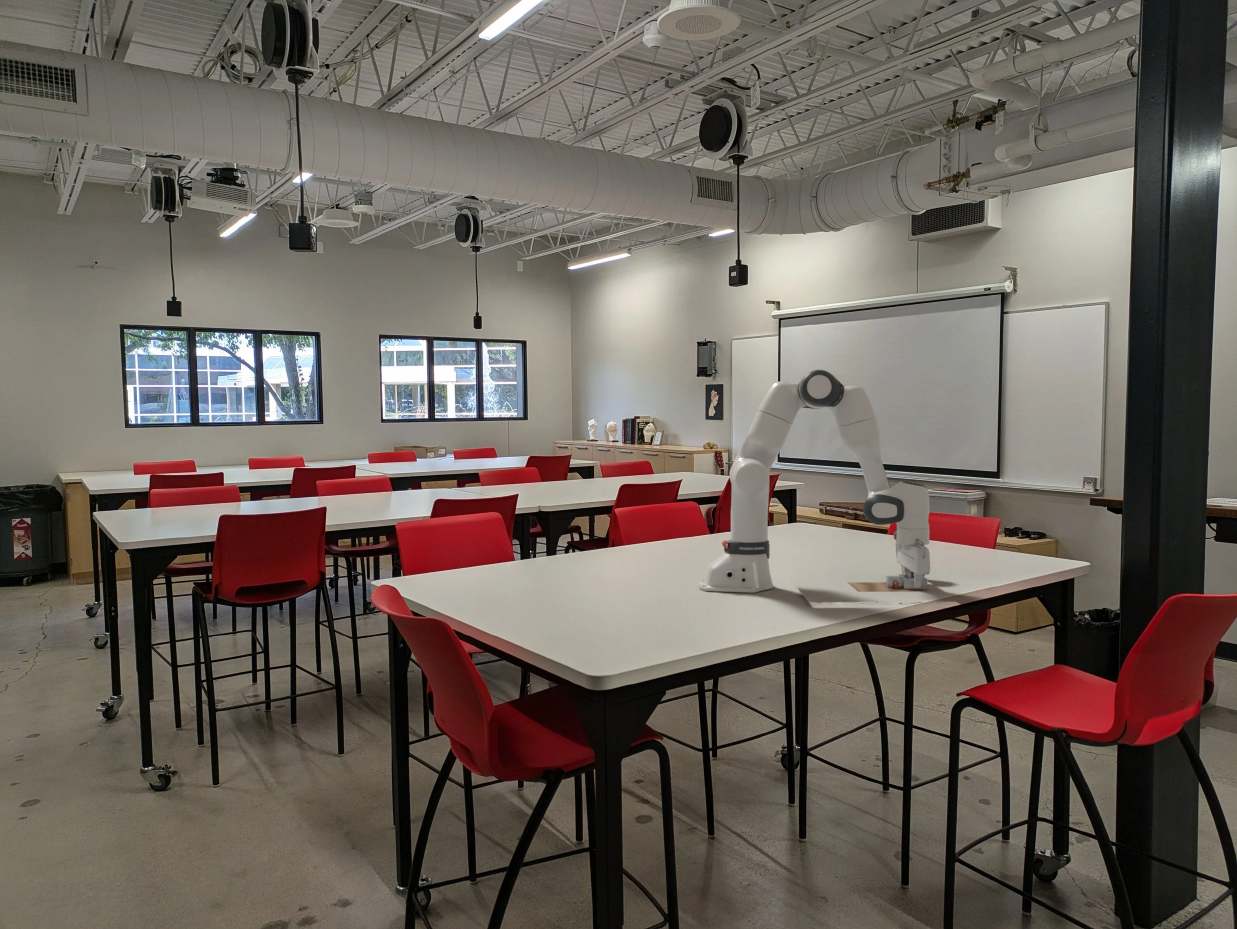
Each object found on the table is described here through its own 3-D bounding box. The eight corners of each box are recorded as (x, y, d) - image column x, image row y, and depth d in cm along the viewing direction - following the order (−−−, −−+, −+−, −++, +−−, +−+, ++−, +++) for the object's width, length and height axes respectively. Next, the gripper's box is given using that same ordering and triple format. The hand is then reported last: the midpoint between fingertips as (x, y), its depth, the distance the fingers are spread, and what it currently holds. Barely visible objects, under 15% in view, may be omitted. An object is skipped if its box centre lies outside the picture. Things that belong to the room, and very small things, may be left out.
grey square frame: (920, 584, 238) (920, 574, 238) (927, 589, 231) (927, 578, 231) (884, 584, 238) (884, 574, 238) (889, 588, 232) (890, 578, 232)
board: (858, 596, 230) (858, 577, 230) (847, 587, 243) (847, 568, 243) (936, 596, 229) (937, 576, 229) (922, 587, 242) (922, 568, 242)
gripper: (936, 542, 224) (935, 592, 224) (913, 532, 244) (912, 578, 245) (913, 542, 224) (912, 592, 225) (891, 532, 244) (891, 578, 245)
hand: (912, 584), depth 235 cm, fingers closed on grey square frame, 6 cm apart
